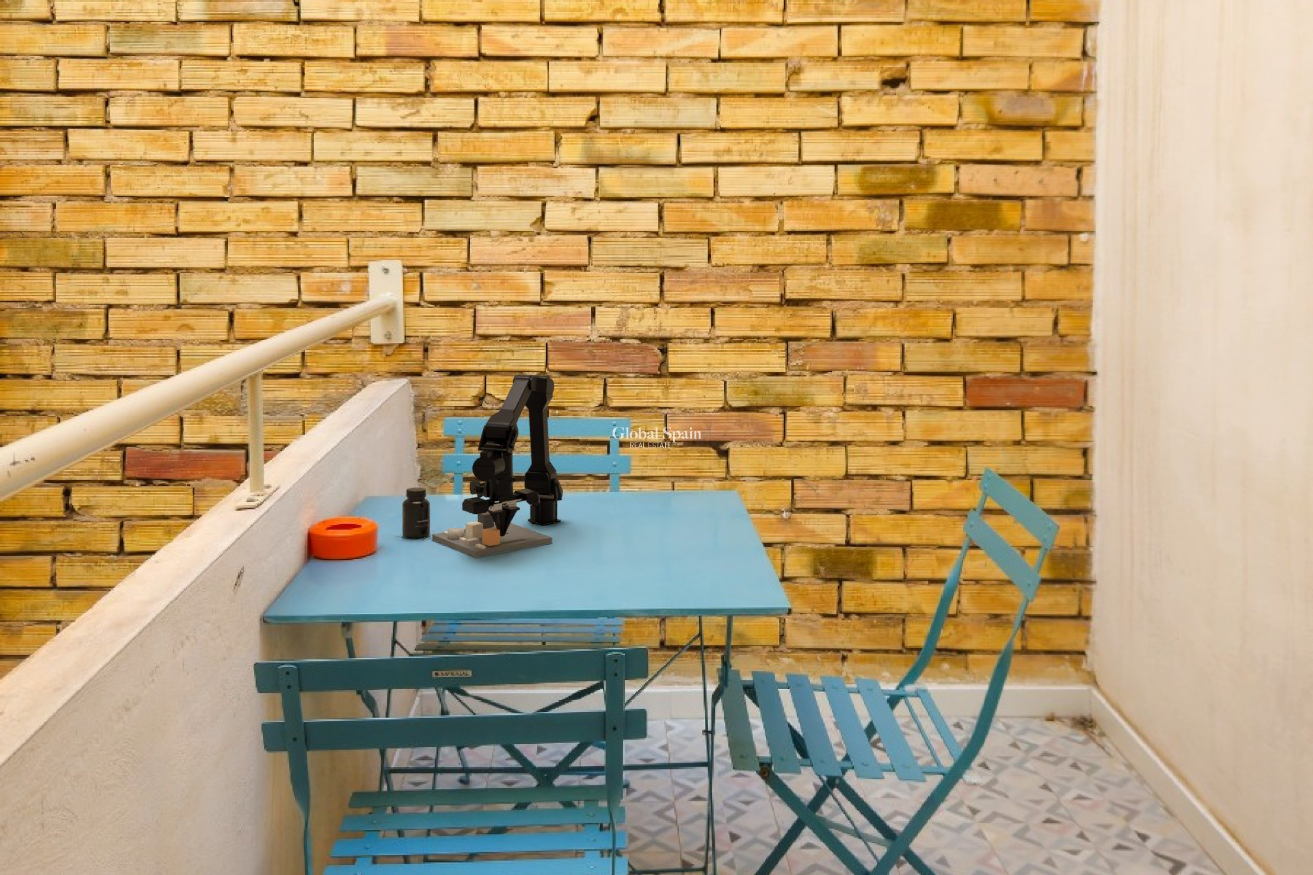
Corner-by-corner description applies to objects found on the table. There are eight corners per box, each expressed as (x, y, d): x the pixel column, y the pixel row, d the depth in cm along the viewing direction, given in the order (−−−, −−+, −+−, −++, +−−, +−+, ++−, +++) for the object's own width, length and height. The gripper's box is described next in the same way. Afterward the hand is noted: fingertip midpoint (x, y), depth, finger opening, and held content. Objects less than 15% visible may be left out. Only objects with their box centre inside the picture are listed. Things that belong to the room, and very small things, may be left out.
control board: (507, 527, 318) (507, 513, 318) (552, 543, 303) (552, 529, 303) (432, 540, 304) (432, 526, 304) (475, 557, 289) (475, 543, 289)
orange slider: (493, 541, 297) (492, 527, 296) (499, 544, 294) (499, 529, 294) (482, 543, 295) (482, 529, 294) (489, 546, 292) (489, 531, 292)
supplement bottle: (424, 540, 304) (423, 492, 302) (398, 538, 305) (397, 491, 303) (434, 533, 311) (433, 487, 309) (409, 531, 312) (408, 485, 310)
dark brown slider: (487, 524, 313) (487, 511, 312) (494, 526, 311) (494, 513, 310) (477, 526, 311) (477, 512, 310) (484, 528, 309) (483, 514, 308)
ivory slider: (476, 535, 302) (476, 521, 302) (483, 537, 300) (482, 523, 299) (465, 537, 300) (465, 523, 300) (472, 539, 298) (472, 525, 297)
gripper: (514, 462, 305) (515, 523, 308) (449, 472, 293) (450, 535, 296) (540, 469, 297) (541, 532, 300) (474, 480, 285) (475, 545, 288)
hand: (501, 536), depth 296 cm, fingers closed
